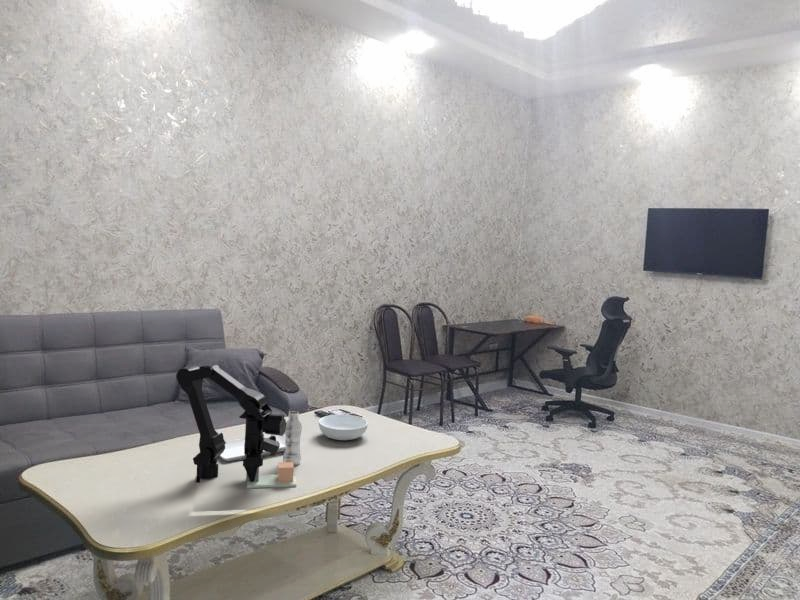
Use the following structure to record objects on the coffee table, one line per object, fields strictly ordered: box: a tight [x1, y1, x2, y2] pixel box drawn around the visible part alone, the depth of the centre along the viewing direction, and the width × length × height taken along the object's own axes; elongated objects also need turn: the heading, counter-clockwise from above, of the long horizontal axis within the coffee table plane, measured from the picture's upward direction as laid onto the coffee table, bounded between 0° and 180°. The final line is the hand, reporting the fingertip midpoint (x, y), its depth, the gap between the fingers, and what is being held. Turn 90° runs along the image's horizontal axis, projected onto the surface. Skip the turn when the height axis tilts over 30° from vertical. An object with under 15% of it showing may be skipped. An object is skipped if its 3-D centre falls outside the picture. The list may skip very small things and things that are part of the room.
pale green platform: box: [245, 467, 297, 489], centre depth 205 cm, size 16×9×5 cm, turn 103°
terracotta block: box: [277, 461, 295, 482], centre depth 206 cm, size 5×5×5 cm
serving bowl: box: [318, 414, 369, 441], centre depth 259 cm, size 21×21×7 cm
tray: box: [219, 433, 285, 463], centre depth 235 cm, size 17×32×4 cm, turn 131°
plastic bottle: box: [282, 410, 303, 467], centre depth 222 cm, size 6×7×20 cm
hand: (252, 477), depth 203 cm, fingers open, 7 cm apart
